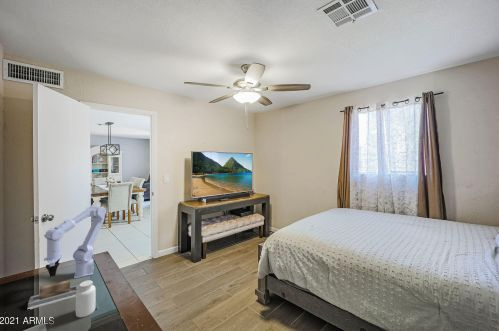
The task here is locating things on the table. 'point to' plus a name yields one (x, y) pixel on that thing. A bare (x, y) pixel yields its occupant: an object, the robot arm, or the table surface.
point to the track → (52, 298)
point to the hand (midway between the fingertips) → (53, 272)
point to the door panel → (54, 289)
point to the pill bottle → (85, 299)
